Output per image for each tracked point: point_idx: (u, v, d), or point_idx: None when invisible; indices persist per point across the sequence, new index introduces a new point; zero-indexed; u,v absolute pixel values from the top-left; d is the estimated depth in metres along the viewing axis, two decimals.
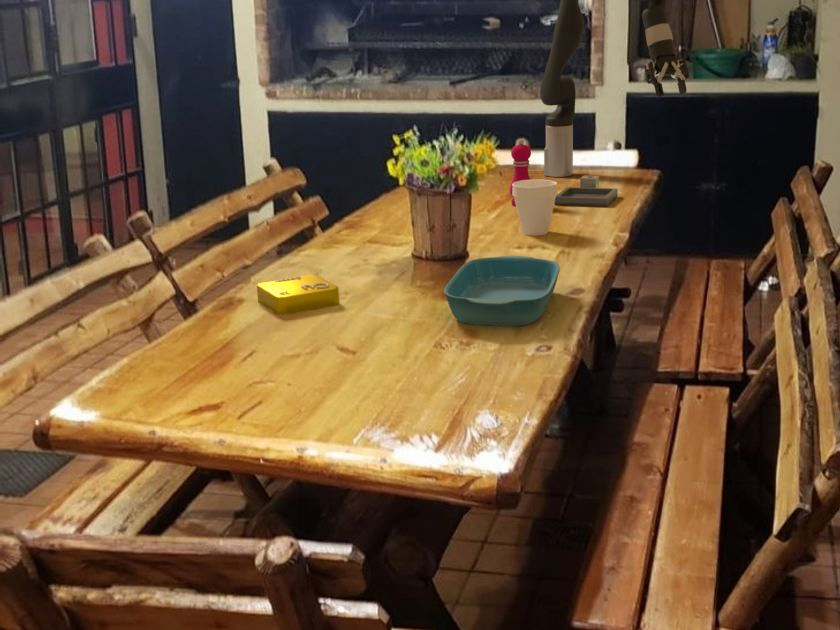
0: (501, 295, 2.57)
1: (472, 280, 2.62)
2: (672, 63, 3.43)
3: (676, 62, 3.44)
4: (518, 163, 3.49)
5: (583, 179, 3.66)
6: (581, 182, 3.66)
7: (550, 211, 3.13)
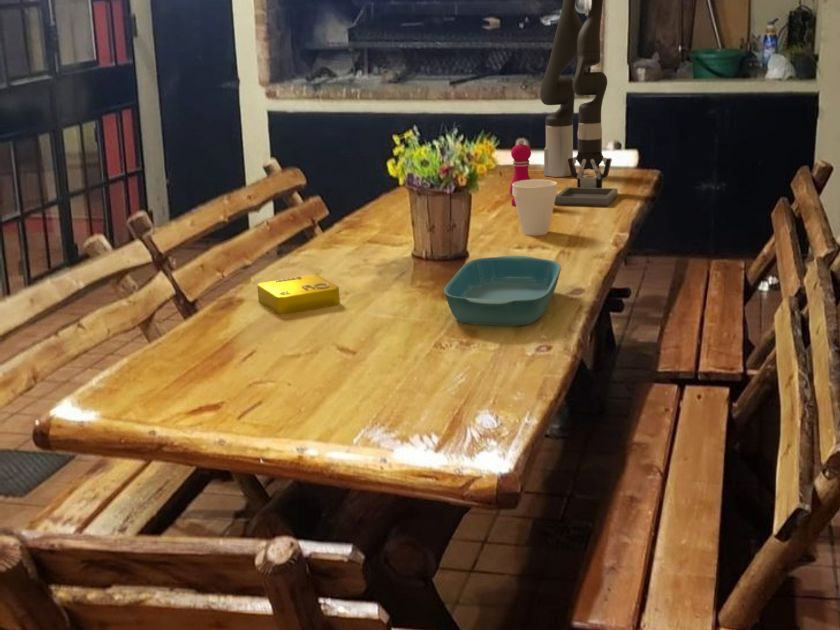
0: (502, 295, 2.57)
1: (474, 280, 2.62)
2: (591, 160, 3.64)
3: (599, 159, 3.64)
4: (518, 163, 3.49)
5: (583, 179, 3.66)
6: (581, 182, 3.66)
7: (550, 211, 3.13)
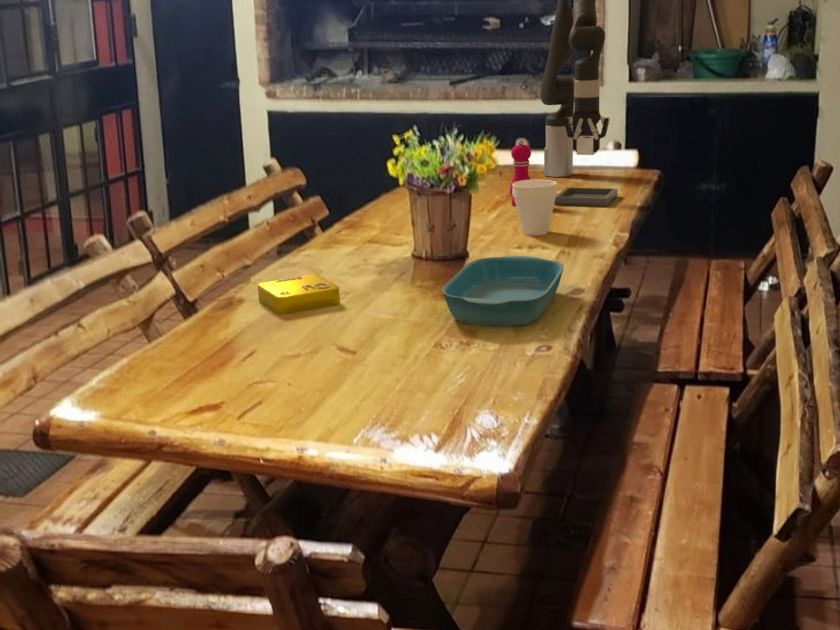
0: (504, 295, 2.57)
1: (477, 280, 2.63)
2: (588, 119, 3.47)
3: (597, 118, 3.47)
4: (518, 163, 3.49)
5: (580, 139, 3.49)
6: (578, 143, 3.50)
7: (550, 211, 3.13)
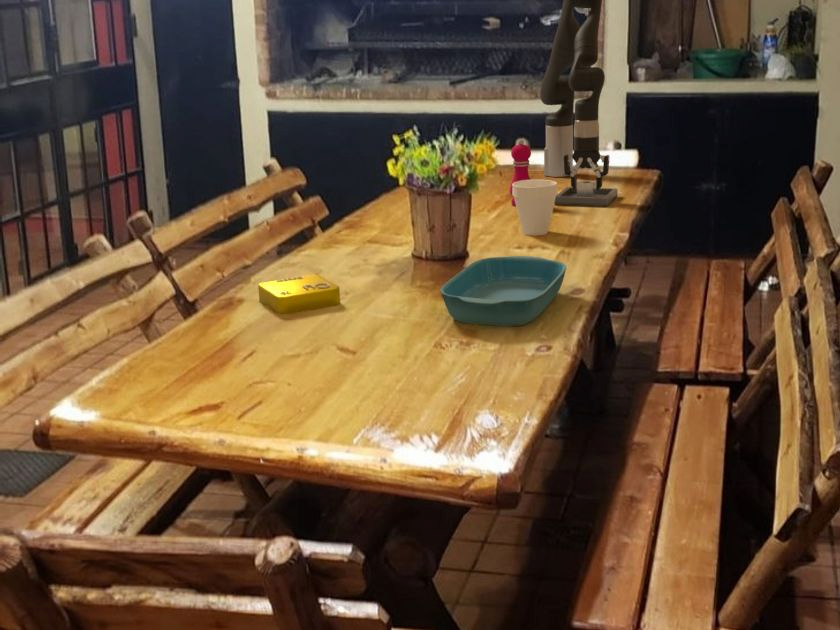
0: (506, 295, 2.57)
1: (481, 279, 2.63)
2: (588, 159, 3.50)
3: (596, 158, 3.50)
4: (518, 163, 3.49)
5: (580, 184, 3.53)
6: (578, 188, 3.53)
7: (550, 211, 3.13)
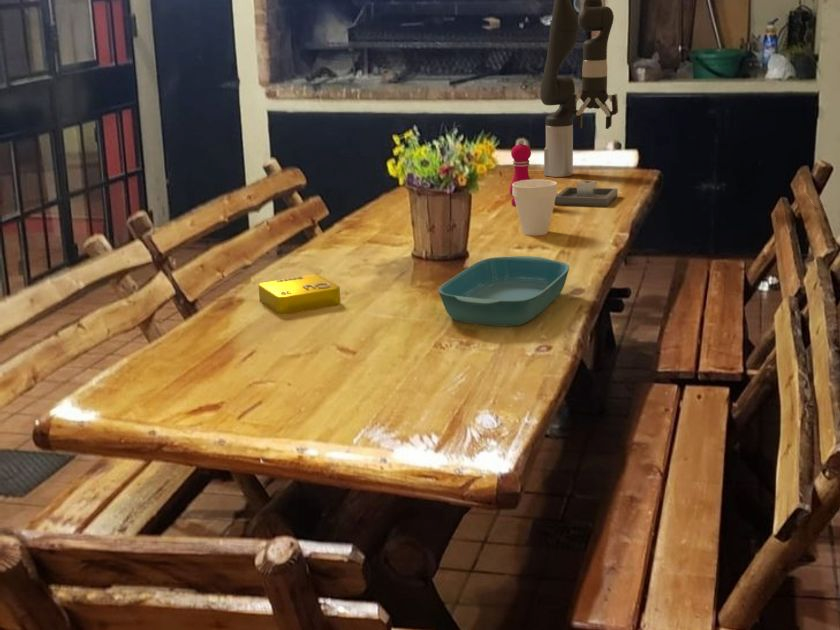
0: (509, 295, 2.56)
1: (485, 279, 2.63)
2: (596, 99, 3.52)
3: (604, 98, 3.52)
4: (518, 163, 3.49)
5: (580, 184, 3.53)
6: (578, 188, 3.53)
7: (550, 211, 3.13)
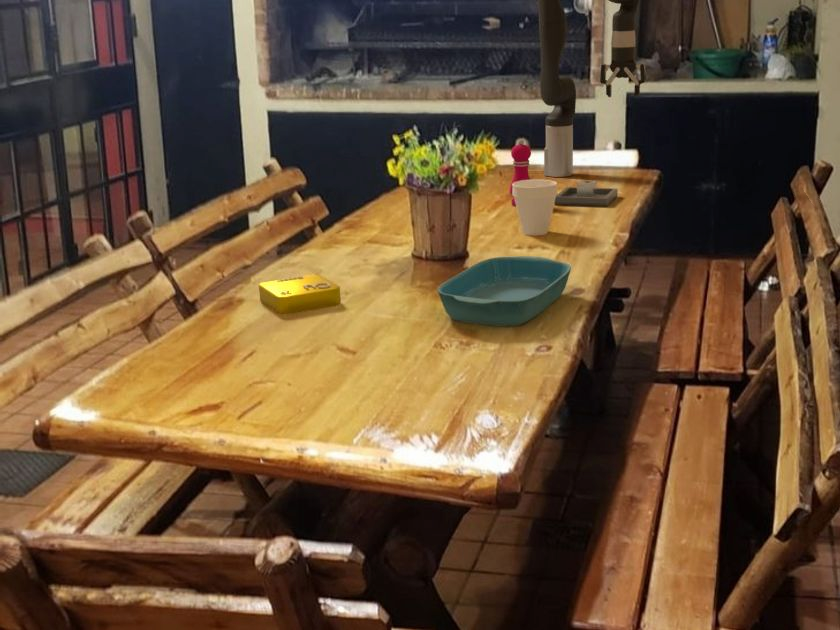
0: (510, 295, 2.56)
1: (488, 279, 2.63)
2: (625, 69, 3.68)
3: (633, 67, 3.68)
4: (518, 163, 3.49)
5: (580, 184, 3.53)
6: (578, 188, 3.53)
7: (550, 211, 3.13)
